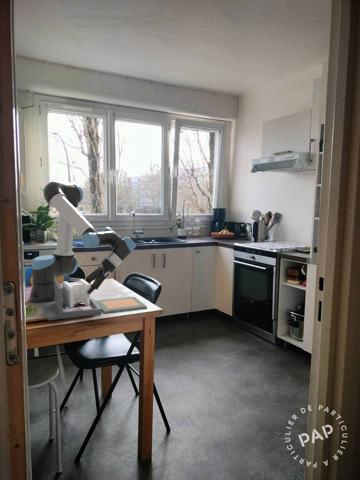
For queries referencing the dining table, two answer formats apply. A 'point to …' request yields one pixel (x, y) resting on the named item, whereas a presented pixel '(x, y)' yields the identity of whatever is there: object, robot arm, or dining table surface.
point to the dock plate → (120, 304)
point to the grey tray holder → (56, 309)
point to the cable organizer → (74, 293)
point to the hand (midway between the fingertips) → (80, 294)
